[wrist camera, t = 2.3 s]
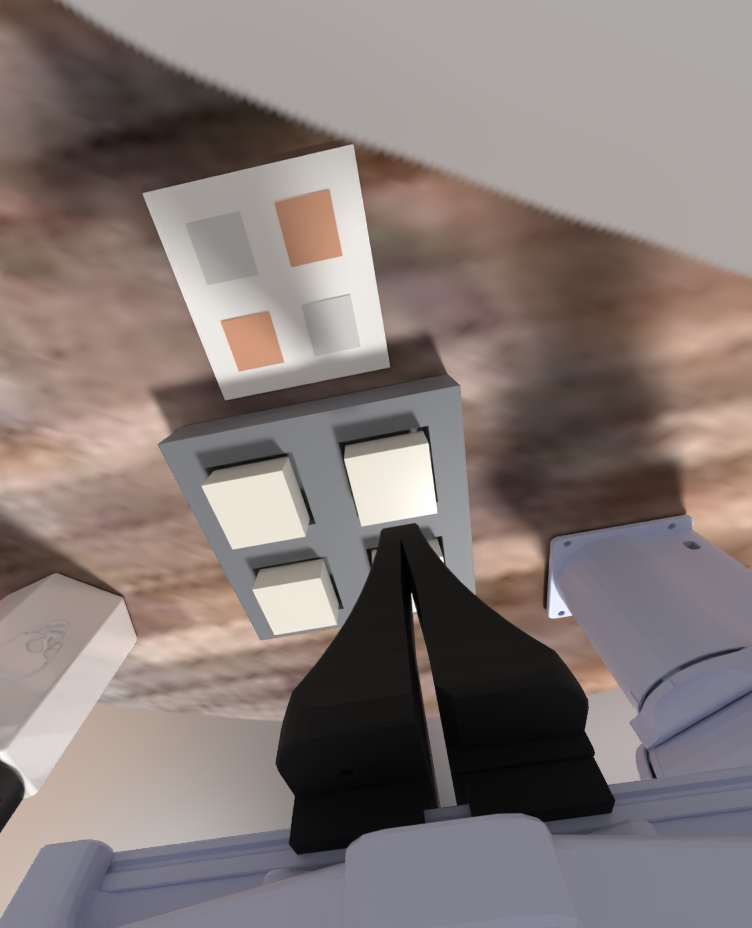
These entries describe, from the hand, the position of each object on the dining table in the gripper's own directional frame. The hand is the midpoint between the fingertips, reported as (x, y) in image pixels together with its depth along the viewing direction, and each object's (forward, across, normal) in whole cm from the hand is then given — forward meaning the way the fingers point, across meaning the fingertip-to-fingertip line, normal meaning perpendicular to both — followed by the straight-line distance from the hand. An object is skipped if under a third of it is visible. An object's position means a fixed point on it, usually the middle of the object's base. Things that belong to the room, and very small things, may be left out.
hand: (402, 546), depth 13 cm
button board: (+8, +4, +4) cm, 10 cm away
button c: (+6, +7, 0) cm, 9 cm away
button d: (+6, +7, +7) cm, 12 cm away
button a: (+6, 0, 0) cm, 6 cm away
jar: (+9, +25, +8) cm, 28 cm away
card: (+8, +4, -10) cm, 13 cm away
